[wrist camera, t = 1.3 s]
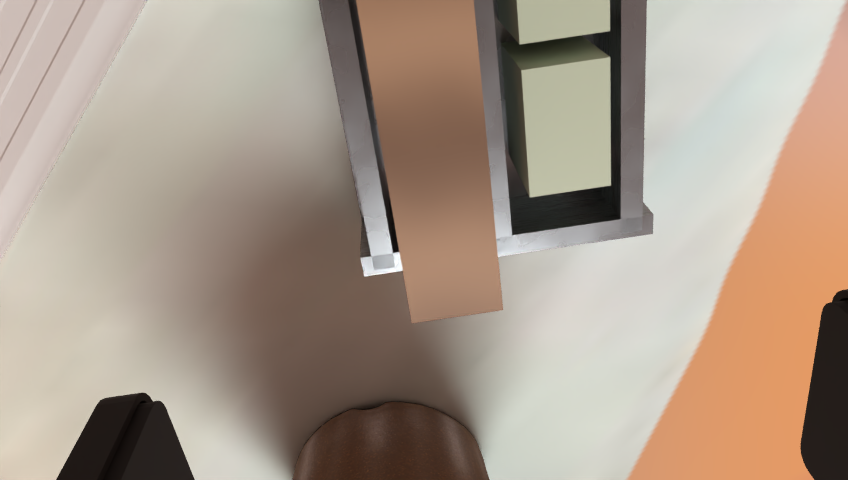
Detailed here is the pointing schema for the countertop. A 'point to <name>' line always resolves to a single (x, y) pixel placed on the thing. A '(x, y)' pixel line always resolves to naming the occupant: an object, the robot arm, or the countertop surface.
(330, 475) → the plant pot
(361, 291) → the countertop surface
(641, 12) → the rack
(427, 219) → the walnut board
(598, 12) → the offcut
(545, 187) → the offcut
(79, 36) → the baseboard
